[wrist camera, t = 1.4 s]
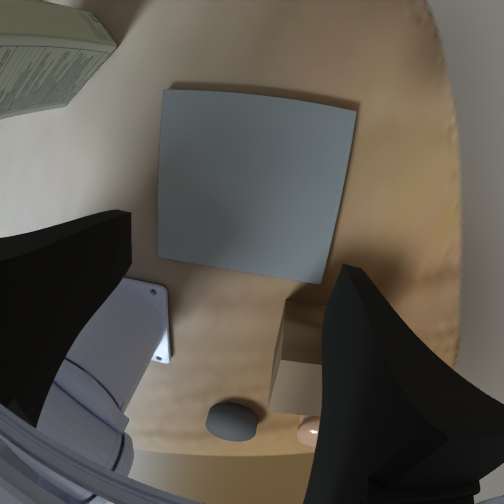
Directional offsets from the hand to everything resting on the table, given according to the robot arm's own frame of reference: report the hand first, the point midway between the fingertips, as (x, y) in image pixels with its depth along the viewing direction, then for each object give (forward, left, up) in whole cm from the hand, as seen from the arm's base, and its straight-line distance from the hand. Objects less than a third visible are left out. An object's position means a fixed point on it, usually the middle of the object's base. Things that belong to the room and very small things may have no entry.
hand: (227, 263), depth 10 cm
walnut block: (+5, -10, -10) cm, 15 cm away
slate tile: (-1, 0, -10) cm, 10 cm away
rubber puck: (0, -23, -10) cm, 25 cm away
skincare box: (-14, +8, -10) cm, 19 cm away
